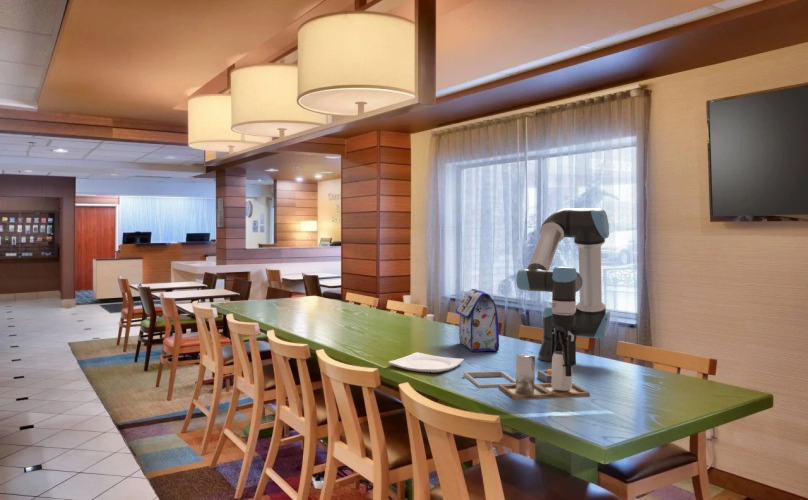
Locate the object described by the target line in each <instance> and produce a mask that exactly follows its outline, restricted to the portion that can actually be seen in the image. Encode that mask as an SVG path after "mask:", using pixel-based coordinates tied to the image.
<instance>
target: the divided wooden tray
mask: <svg viewBox="0 0 808 500" xmlns="http://www.w3.org/2000/svg"><path fill="white" fill-rule="evenodd" d="M498 389H500V390H501V391H502V392H503V393H505V394H506V395H508V397H510V398H511V399H513V400H527V399H528V400H529V399H550V398H553V399H554V398H572V397H573V398H575V397H590V396H591V392H590V391H587V390H586V389H584V388H583V387H580V386H579V385H577V384H574V383H573V382H572V389H571V390H569V391H558V390H554V389H553V388H552V383H546V382H541V383H534V394H526V395H521V394H517V393H516V384H513V385H499V387H498Z"/></svg>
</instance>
